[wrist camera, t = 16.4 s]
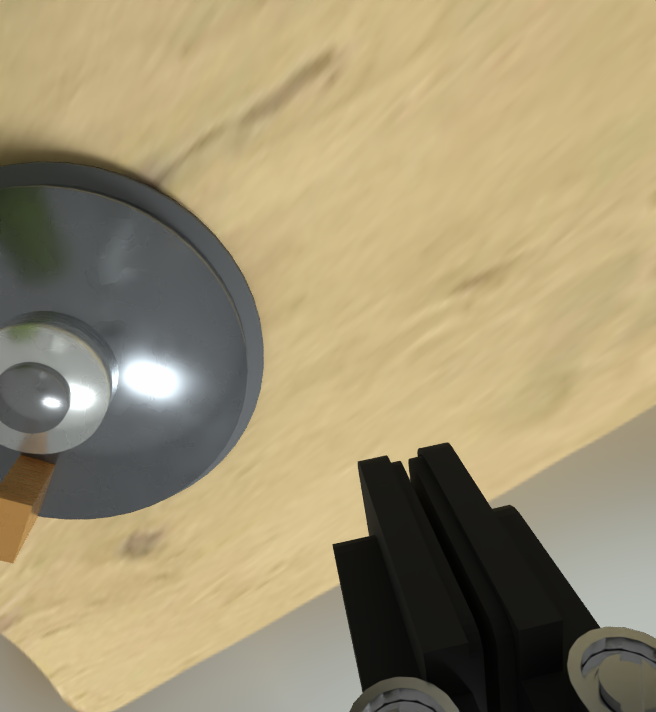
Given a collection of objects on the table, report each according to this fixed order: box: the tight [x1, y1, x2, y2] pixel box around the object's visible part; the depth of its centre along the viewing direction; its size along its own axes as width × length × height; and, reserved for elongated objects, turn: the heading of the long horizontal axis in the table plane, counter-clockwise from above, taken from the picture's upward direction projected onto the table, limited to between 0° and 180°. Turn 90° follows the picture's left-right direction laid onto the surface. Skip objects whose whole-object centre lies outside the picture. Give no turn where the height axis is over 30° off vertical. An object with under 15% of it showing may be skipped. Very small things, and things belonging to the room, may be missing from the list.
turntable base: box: [0, 162, 264, 496], centre depth 33 cm, size 22×22×1 cm
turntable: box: [0, 184, 248, 563], centre depth 30 cm, size 20×20×6 cm
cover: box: [0, 311, 119, 454], centre depth 30 cm, size 7×7×4 cm
